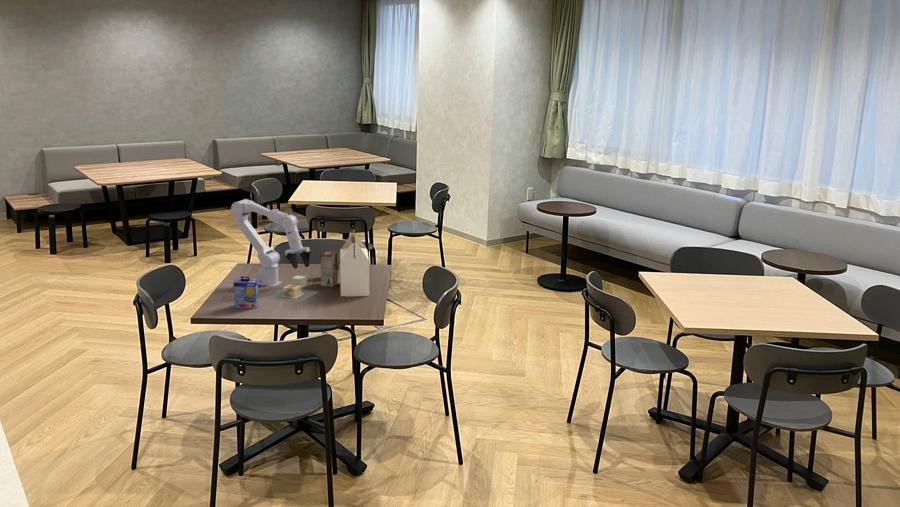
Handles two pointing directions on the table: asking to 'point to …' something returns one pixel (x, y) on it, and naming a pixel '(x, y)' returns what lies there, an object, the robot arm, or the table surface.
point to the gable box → (354, 267)
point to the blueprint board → (300, 298)
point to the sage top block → (299, 281)
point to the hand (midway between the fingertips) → (301, 267)
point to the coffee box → (329, 268)
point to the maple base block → (292, 290)
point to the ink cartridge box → (246, 293)
